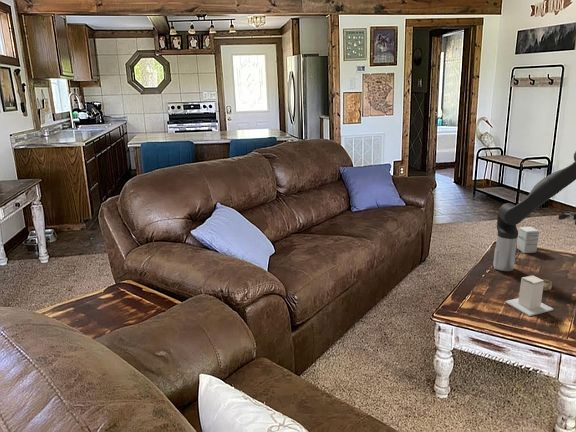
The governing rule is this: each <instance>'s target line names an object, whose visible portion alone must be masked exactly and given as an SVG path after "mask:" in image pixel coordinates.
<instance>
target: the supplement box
mask: <svg viewBox="0 0 576 432" xmlns="http://www.w3.org/2000/svg"><path fill="white" fill-rule="evenodd" d="M539 236H540V230H538V229H536V228H534V227H532V226H521V227H519V230H518V239H517V247H516V250H517V249H518V250H519V251H521V252H522V253H524V254H530V253H531V254H532V253H537V249H538V243H539V238H540V237H539Z"/></svg>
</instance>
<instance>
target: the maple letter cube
mask: <svg viewBox="0 0 576 432" xmlns="http://www.w3.org/2000/svg"><path fill="white" fill-rule="evenodd" d="M543 280H544V286H543V291H550V290H552V286H553V281H551V280H548V279H546V278H545V279H543Z"/></svg>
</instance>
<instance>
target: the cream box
mask: <svg viewBox="0 0 576 432" xmlns="http://www.w3.org/2000/svg"><path fill="white" fill-rule="evenodd" d="M543 286H544V279H541V278H539V277H537V276H535V275H534V274H532V275H528V276H527V275H526V276H523V277H521V280H520V286H519V294H518V298H519V300H518V303H519V304H521V305H522V306H524V307H526V308H528V309H533V308H537V307H540V306H541V303H542V299H543V298H542V297H543V294H544V293H543V292H544V290H543Z"/></svg>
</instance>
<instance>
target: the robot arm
mask: <svg viewBox="0 0 576 432" xmlns="http://www.w3.org/2000/svg"><path fill="white" fill-rule="evenodd" d="M574 181H576V151H575V152H574V153H573V162H572V163H571V164H569V165H568V166H566V167H564V168H562V169H560V170H559V169H558V170H556V171H554V172H552V173H550V174H548V175H547V176H545V177H543V178H542V179H541V180H539V181H538V182H537V183H536V184H535V185H534V186H533V187H532V189H531V191H530V192H529V193H528V195H527V196H526V197H525V198H524V199H523V200H521V201H520V202H519V203H517V204H516V205H515V204H513V203H511V202H507V203H503V204H502V205H501V206H500V207H499V209H498V211H497V216H496V217H497V219H496V220H497V221H496V230H497V233H496V234H497V236H496V243H495V247H494V253H493V254H494V255H493V264H492V266H493V267H494V270H498V271H501V272H512V271H514V269H515V260H516V253H517V243H518V236H519V230H518V228H517V225H518V224H520V223H521V222H523V221H524V220H525V219H526V218H528V216H529V215H530V214H531V213H532V212H534V211H536V209H538V208H539V207H541V206H542V205H543V204H545V203H546V202H547V201H548V200H550V199H551V198H553V197H554V196H556V195H557V194H558V193H560V192H561V191H563V190H564V189H565V188H566V187H568V186H569V185H571V184H572V183H574ZM558 220H559V221H561V220H569V221H574V225H575V226H576V212H574V210H567V211H562V212H561V214H559V215H558Z"/></svg>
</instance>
